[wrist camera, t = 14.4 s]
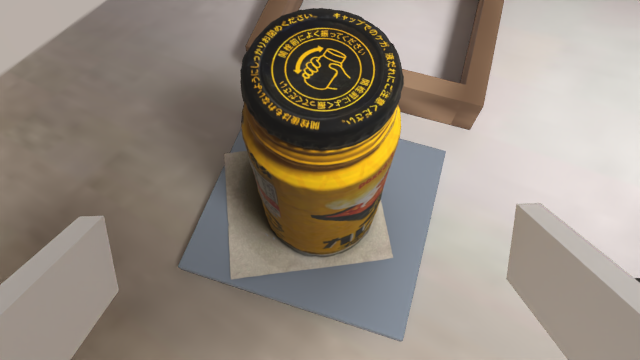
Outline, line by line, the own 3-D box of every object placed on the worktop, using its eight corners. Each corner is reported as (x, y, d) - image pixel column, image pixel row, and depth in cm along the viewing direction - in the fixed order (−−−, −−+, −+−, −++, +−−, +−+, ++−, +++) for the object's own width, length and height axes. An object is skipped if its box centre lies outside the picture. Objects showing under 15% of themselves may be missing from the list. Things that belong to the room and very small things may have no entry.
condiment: (392, 258, 24) (455, 147, 13) (231, 280, 23) (153, 183, 12) (368, 139, 27) (401, -33, 16) (224, 156, 26) (157, -10, 15)
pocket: (500, -20, 33) (513, -50, 31) (469, 129, 28) (483, 106, 25) (314, -60, 35) (313, -92, 33) (251, 72, 30) (245, 46, 27)
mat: (443, 156, 27) (445, 151, 26) (400, 341, 22) (402, 340, 22) (255, 105, 28) (254, 99, 28) (181, 269, 24) (178, 266, 23)
